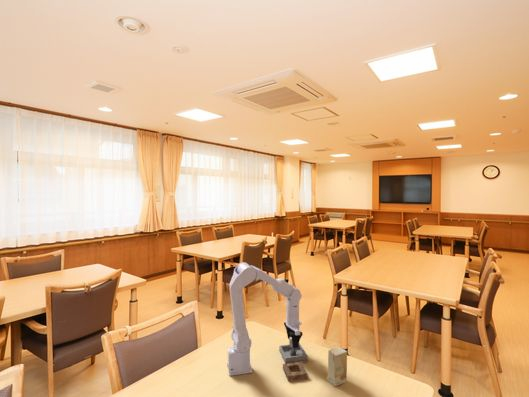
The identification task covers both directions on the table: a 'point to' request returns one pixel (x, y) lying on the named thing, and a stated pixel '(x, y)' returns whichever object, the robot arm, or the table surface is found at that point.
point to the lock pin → (292, 350)
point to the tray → (287, 358)
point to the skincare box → (337, 366)
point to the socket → (296, 375)
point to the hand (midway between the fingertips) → (292, 342)
